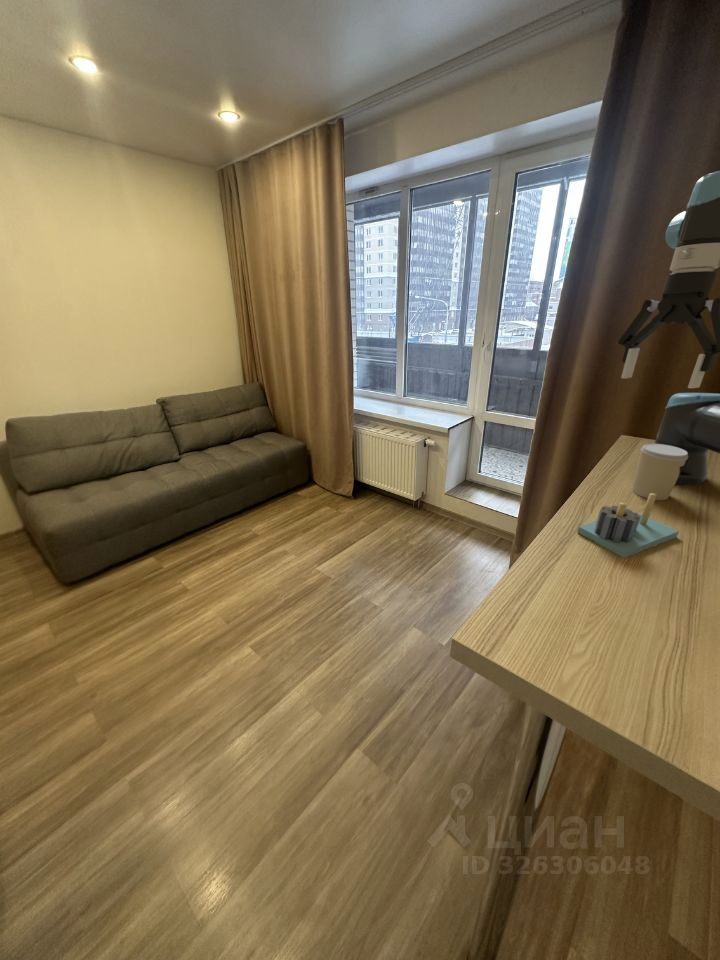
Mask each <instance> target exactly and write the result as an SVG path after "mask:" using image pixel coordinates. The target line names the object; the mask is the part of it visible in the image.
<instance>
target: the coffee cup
mask: <svg viewBox="0 0 720 960" xmlns="http://www.w3.org/2000/svg"><path fill="white" fill-rule="evenodd" d="M687 459H688V453H687V452H686V451H685V450H683V449H681V448H678V447H674V446H670V445H664V444H654V443H646V444H644V445H643V446H642V447H641V448H640V453H639V458H638V462H637V466H636V470H635V474H634V478H633V483H632V487H631V490H632V493H634V494H635V495H638V496H639V497H642V498H645V499H648V497H649V494H650V493H653V494H656V495H657V496H656V499H655V501H664V500H667V499H668V498H669V497H670V495H671V494H672V491H673V489H674V486H675V485H676V484H677V483H676V481H677V479H678V477H679V475H680V472H681V470H682V468H683V466H684V464H685V462H686V460H687Z"/></svg>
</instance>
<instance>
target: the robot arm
mask: <svg viewBox="0 0 720 960" xmlns="http://www.w3.org/2000/svg"><path fill="white" fill-rule="evenodd" d="M685 208H686V210H684V211H682V212H679V213H678V214H677V215H675V216H674V217H673V219H671V221H670V222H669V224H668V226H667V229H666V231H665V242H666V244H667V245H668V247H669V248H671V249H674V253H673V255H672V260H671V263H670V267H669V271H670V272H672V273H669V274H668V275H667V277H666V279H665V283H664V286H663V290H662V297H661V298H660V300H656V299H646V300H644V302H643V304H642V306H641V308H640V311H639V313H638V314H637V315H636V316H635V317H634V319H633V320H632V322H631V323H630V325H629V326H628V327H627V328H626V330H625V331H624V333H623V334H622V335H621V336H620V338H619V339H618V341H617V344H618V345H622V346H623V347H624V348H625V349H624V353H623V357H622V363H624V365H623V369H622V373H621V377H620V378H621V379H631V378H633V374H634V370H635V367H636V364H637V360H638V357H639V353H640V350H641V348H640V347H639V345H640V344H641V343H642V342H643V341H644V340H646V339H647V338H648V337H649V336H650V335H652V334H653V333H654V332H655V331H657V329H659V328H660V327H661V326H662V325H665V324H687V325H688V326H689V327H690V328H691V330H692V332H693V334H694V336H695V337H696V339H697V341H698V342H699V344H700V346H701V348H702V350H703V353H700V354H698V356H697V359H696V363H695V366H694V368H693V371H692V374H691V376H690V379H689V383H688V385H687V388H688V389H698V388H700V387H701V384H702V382H703V379H704V376H705V373H707V372H710V371H711V370H712V369H713V366H714V363H715V360H716V357H717V356H718V355H719V354H720V297H717V298H714V299H710V300H709V296H710V293H711V292H712V289H713V286H714V283H715V280H716V277H717V272H716V271H715V269H718V268H720V170H717V171H714V172H711V173H708V174H706V175H703V176H702V177H700V178H699V179H698V180H697V181H696V183H695V185H694V186H693V189H692V192H691V195H690V197H689V200H688V203H687V205H686V207H685ZM707 308H708V309H707ZM706 309H707V310H708V312H710V317H711V323H712V328H713V333H714V336H713V335H712V333H711V332H710V329H709V328H708V326H707V324H706V321H705V318H704V316H703V315H702V312H704V310H706ZM656 310H658V313H657V314H656V315H655V316H654V317H653V318H652V319H651V321H650V322H649V323H647V324H646V325H645V323H646V322H647V321H648V319H649V318H650V317H651V315H653V312H655V311H656ZM644 325H645V326H644ZM643 326H644V327H643ZM642 327H643V328H642ZM654 440H655V441H654V442H653V444H664V445H670V446H674V447H678V448H681V449H683V450H685V451H686V452H687V453H688V459H687V460H686V462H685V464H684V466H683V468H682V470H681V472H680V475H679V477H678V479H677V481H676V483H675V484H678V485H679V484H680V485H688V486H689V485H691V486H692V485H693V486H695V485H701V484H703V483H705V481H706V479H707V477H708V451H712V452H715V453H717V454H720V393H715V392H714V393H713V392H712V393H711V392H678V393H675V394H673V395H671V396H670V398H669V400H668V402H667V404H666V406H665V408H664V412H663V415H662V418H661V422H660V425H659V428H658V430H657V434H656V438H655V439H654Z"/></svg>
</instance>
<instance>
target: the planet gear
mask: <svg viewBox="0 0 720 960" xmlns="http://www.w3.org/2000/svg"><path fill="white" fill-rule="evenodd" d="M618 506H619V505H612V506H607V505H603V506H601V509H599V513H598V516H597V519H596V521H597V522H596V526H595V529H594V531H595V533H598V534H599V535H600V538H602V539H604V540H605V539H608V540H609V539H610V540H612V542H613V543H620V541H621V542H625V543H629V542H630V541H631V539H632V536H633V533H634V530H635V527H636V524H637V522H638V519H639V516H638V515H636V514H633V513H632V511H633V510H632V511H631V509H629V508H625V511H624V514H623V517H622V516H617V515H616V512H617V509H618Z"/></svg>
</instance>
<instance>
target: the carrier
mask: <svg viewBox="0 0 720 960" xmlns="http://www.w3.org/2000/svg"><path fill="white" fill-rule="evenodd" d="M656 496H657V495H656V494H653V493H650V494H649V497H648V498H647V499H646V500H647V501H646V503H645V506H644V509H643V511H642V514H641V513H638V512H636V511H634V510H631V509H630V510H631V511H632V513H633V514H636V515H638V516H639V519H638V522H637V524H636V527H635V530H634V533H633V536H632V539H631V541H630V542H629V543H625V542H621V541H620V543H613V542H612V540H610V539H609V540H608V539H605V540H604V539H602V538H600V535H599V534H598V533H595V531H594V529H595V526H596V522H597V520H595V521H592V522H589V523H585V524H583V525H579V526H578V528H577V532H578V533H577V534H579V533H580V534H579V535H581V534H582V535H583V536H582V535H581V536H582V537H584V536H585V538H586V537H587V538H586V539H588V538H589V540H590V539H591V540H590V541H592V540H593V541H595V542H596V544H597V543H598V544H597V545H599V544H600V545H599V546H601V545H602V546H601V547H602V548H604V547H605V549H606V548H607V549H606V550H608V551H610V552H612V553H613V554H616V555H617V556H620V557H621V558H623V559H625V558H629V557H631V556H633V555H636V554H638V553H641V552H643V551H645V549H646V550H649V549H651V548H653V547H652V546H654V547H656V546H658V545H657V544H659V545H661V544H664V543H666V542H668V540H669V541H672V540H673V539H677V537H678V535H679V532H680V530H677V529H676V528H674V527H671V526H668V525H665V524H663V523H661V522H659V521H657V520H655V519H652V518H650V515H651V512H652V509H653V507H654V504H655V501H656V500H655V499H656ZM617 506H618V509H617V512H616V515H617V516H622V517H623V514H624V511H625V509H627V506H628V505H627V503H625V502H619V504H618V505H617ZM593 541H592V542H593ZM665 541H666V542H665ZM595 542H594V543H595ZM663 542H664V543H663ZM660 543H661V544H660ZM655 545H656V546H655ZM650 547H651V548H650Z"/></svg>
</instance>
